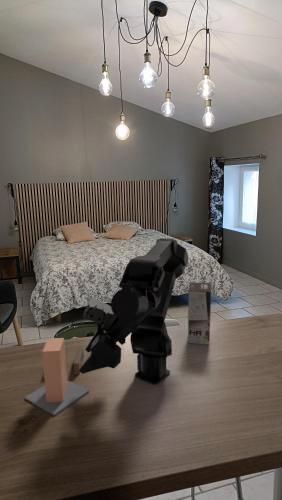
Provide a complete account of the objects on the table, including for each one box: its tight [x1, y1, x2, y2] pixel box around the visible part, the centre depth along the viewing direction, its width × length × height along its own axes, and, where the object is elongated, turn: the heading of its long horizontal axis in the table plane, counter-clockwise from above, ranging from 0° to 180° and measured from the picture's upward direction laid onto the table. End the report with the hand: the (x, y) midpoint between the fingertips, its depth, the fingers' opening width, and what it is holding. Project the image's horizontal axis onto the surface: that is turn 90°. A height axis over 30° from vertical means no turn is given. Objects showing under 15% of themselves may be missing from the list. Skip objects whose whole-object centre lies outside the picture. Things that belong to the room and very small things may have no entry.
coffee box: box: [187, 282, 212, 345], centre depth 104 cm, size 9×6×16 cm
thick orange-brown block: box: [41, 337, 68, 402], centre depth 77 cm, size 4×6×12 cm, turn 3°
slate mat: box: [24, 379, 90, 417], centre depth 78 cm, size 10×10×1 cm
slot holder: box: [72, 345, 85, 375], centre depth 90 cm, size 8×9×3 cm
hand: (83, 360), depth 77 cm, fingers open, 9 cm apart
